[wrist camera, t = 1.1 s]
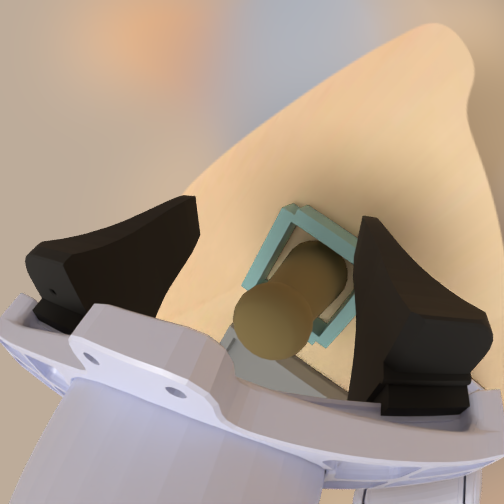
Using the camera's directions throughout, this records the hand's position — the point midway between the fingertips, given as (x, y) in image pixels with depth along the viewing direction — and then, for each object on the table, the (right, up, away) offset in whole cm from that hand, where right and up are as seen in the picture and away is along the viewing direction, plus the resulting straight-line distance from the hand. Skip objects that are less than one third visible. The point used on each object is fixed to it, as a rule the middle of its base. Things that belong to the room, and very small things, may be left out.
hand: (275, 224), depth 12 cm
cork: (+5, -3, +14) cm, 15 cm away
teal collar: (+5, -3, +14) cm, 15 cm away
